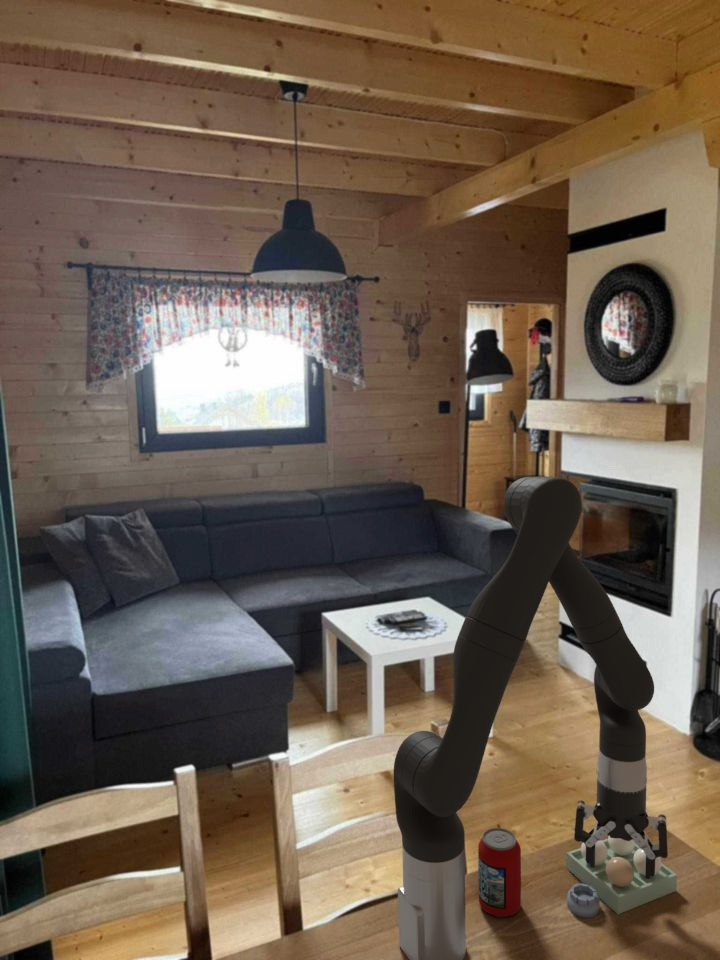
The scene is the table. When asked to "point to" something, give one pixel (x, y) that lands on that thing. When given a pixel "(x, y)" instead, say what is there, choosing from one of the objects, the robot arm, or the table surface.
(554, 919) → the table surface
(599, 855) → the white egg
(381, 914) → the table surface
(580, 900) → the egg cup
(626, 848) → the white egg
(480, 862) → the beverage can
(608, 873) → the brown egg
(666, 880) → the egg carton
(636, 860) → the white egg
